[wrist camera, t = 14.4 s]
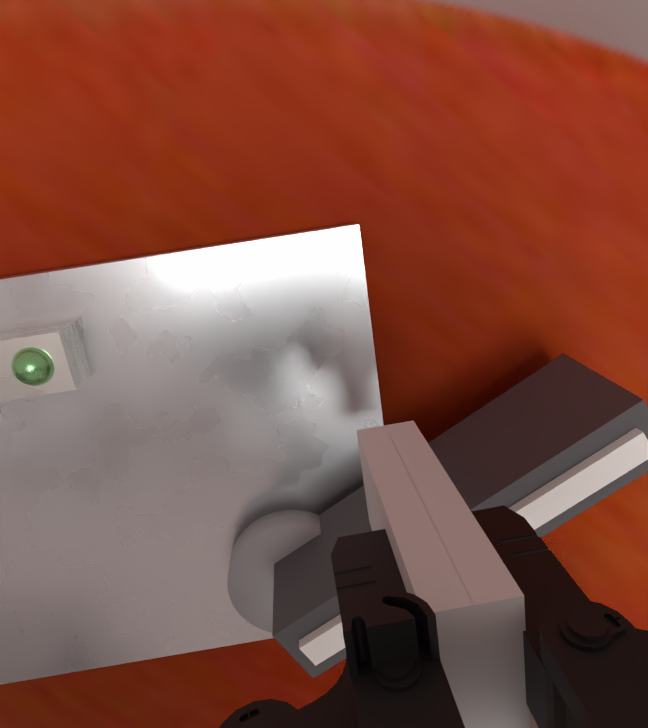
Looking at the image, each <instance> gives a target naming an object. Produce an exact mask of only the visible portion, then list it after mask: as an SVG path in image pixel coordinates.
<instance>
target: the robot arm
mask: <svg viewBox="0 0 648 728" xmlns="http://www.w3.org/2000/svg"><path fill="white" fill-rule="evenodd" d="M356 431H357V439H358V446H359V453H360V460H361V467H362V474H363V481H364V488H365V495H366V502H367V509H368V516H369V522H370V525H371V529H372V531H370V532H365V533H359V534H354V535H348V536H343V537H338V539H337V541H336V543H335V546H334V548H333V550H332V553H331V560H332V566H333V572H334V578H335V585H336V591H337V597H338V603H339V609H340V615H341V621H342V627H343V637H344V643H345V649H346V664H345V667H344V671H343V673H342V675H341V676H340V678H339V680H338V681H337V683H336V684H335V685H334V686H333V687H332V688H331V689H330V690H329V691H328V692H327V693H326V694H324V695H323V696H321V697H320V698H319V699H317V700H316V701H314V702H312V703H310V704H308V705H306V706H304V707H302V708H301V709H299V710H297V709H296V708H294V707H293V706H292V705H290V704H289V703H288V702H283V701H278V700H274V699H267V700H261V701H255V702H252V703H250V704H248V705H246V706H244V707H242V708H240V709H238V710H236V711H235V712H234V713H233V714H232V715H231V716H229V717H228V718H227V719H226V720H225V721H224V722H223V723H222V724H221V726H220V727H219V728H530V712H531V714H532V716H533V718H534V720H535V722H536V724H537V726H538V728H648V631H646V630H640V629H637V628H635V627H634V626H633V625H632V624H631V623H630V622H629V621H628V620H627V619H625V618H624V617H623V616H622V615H621V614H620V613H619V612H617V611H615V610H613V609H611V608H609V607H607V606H605V605H603V604H601V603H596V602H592V601H590V600H589V599H588V598H587V596H586V595H585V594H584V593H583V591H582V590H581V589H580V588H579V586H578V585H577V584H576V582H575V581H574V580H573V579H572V577H571V576H570V575H569V574H568V572H567V571H566V570H565V568H564V567H563V566H562V565H561V563H560V562H559V561H558V560H557V558H556V557H555V556H554V555H553V553H552V552H551V551H550V550H548V547H547V546H546V544H545V543H544V542H543V541H542V539H541V538H540V537H538V536H537V533H536V532H535V530H534V529H533V528H532V527H531V525H530V524H529V523H528V522H527V520H526V519H525V518H524V517H523V516H521V515H519V514H518V513H516V512H514V511H512V510H511V509H509V508H507V507H506V506H504V505H503V506H498V507H492V508H487V509H481V510H476V511H470V509H469V508H468V506H467V504H466V503H465V501H464V500H463V498H462V496H461V495H460V493H459V492H458V490H457V489H456V487H455V485H454V484H453V482H452V481H451V479H450V478H449V476H448V474H447V473H446V471H445V470H444V468H443V466H442V465H441V463H440V462H439V460H438V459H437V457H436V455H435V454H434V452H433V451H432V449H431V448H430V446H429V444H428V443H427V441H426V440H425V438H424V436H423V435H422V433H421V432H420V430H419V429H418V427H417V425H416V424H415V422H414V421H407V422H401V423H395V424H390V425H384V426H378V427H373V428H367V429H361V430H356ZM529 710H530V711H529Z"/></svg>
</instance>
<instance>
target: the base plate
mask: <svg viewBox="0 0 648 728" xmlns="http://www.w3.org/2000/svg"><path fill="white" fill-rule="evenodd" d="M378 426H384V424H383V416H382V408H381V400H380V391H379V383H378V375H377V367H376V358H375V350H374V342H373V334H372V325H371V317H370V309H369V301H368V292H367V284H366V276H365V268H364V259H363V251H362V243H361V235H360V227H359V224H357V223H350V224H343V225H337V226H330V227H324V228H317V229H311V230H304V231H298V232H291V233H285V234H278V235H272V236H265V237H259V238H252V239H246V240H239V241H233V242H226V243H220V244H213V245H207V246H200V247H194V248H187V249H181V250H174V251H168V252H161V253H155V254H148V255H142V256H135V257H129V258H122V259H115V260H109V261H102V262H96V263H89V264H83V265H76V266H70V267H63V268H57V269H50V270H44V271H37V272H31V273H24V274H18V275H11V276H5V277H0V685H1V684H7V683H13V682H19V681H25V680H31V679H37V678H42V677H48V676H54V675H60V674H66V673H72V672H78V671H83V670H89V669H95V668H101V667H107V666H113V665H119V664H124V663H130V662H136V661H142V660H148V659H154V658H160V657H165V656H171V655H177V654H183V653H189V652H195V651H201V650H206V649H212V648H218V647H224V646H230V645H236V644H242V643H247V642H253V641H259V640H265V639H271V638H274V637H273V636H272V633H271V632H267V631H264V630H262V629H259V628H257V627H255V626H253V625H252V624H250V623H249V622H247V621H246V620H245V619H244V618H243V617H242V616H241V615H240V614H239V613H238V612H237V611H236V609H235V608H234V606H233V604H232V602H231V600H230V597H229V593H228V586H227V581H228V572H229V565H230V558H231V553H232V549H233V547H234V544H235V542H236V540H237V538H238V537H239V536H240V534H241V533H242V532H243V531H244V530H245V529H246V528H247V527H248V526H249V525H250V524H251V523H253V522H254V521H256V520H257V519H259V518H261V517H263V516H265V515H268V514H271V513H274V512H278V511H284V510H302V511H308V512H311V513H315V514H318V515H320V514H321V513H323V512H324V511H326V510H327V509H329V508H330V507H332V506H333V505H335V504H336V503H338V502H339V501H341V500H342V499H344V498H345V497H347V496H348V495H350V494H351V493H353V492H354V491H356V490H357V489H359V488H361V487H362V486H364V481H363V474H362V467H361V460H360V453H359V446H358V439H357V431H356V430H361V429H367V428H373V427H378Z"/></svg>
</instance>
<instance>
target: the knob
mask: <svg viewBox="0 0 648 728" xmlns="http://www.w3.org/2000/svg"><path fill="white" fill-rule="evenodd" d="M428 444H429V446H430V448H431V449H432V451H433V452H434V454H435V455H436V457H437V459H438V460H439V462H440V463H441V465H442V466H443V468H444V470H445V471H446V473H447V474H448V476H449V478H450V479H451V481H452V482H453V484H454V485H455V487H456V489H457V490H458V492H459V493H460V495H461V496H462V498H463V500H464V501H465V503H466V504H467V506H468V508H469V509H470V511H476V510H481V509H487V508H492V507H498V506H503V505H504V506H506V507H507V508H509V509H511V510H512V511H514V512H516V513H518V514H519V515H521V516H523V517H524V518H525V519H526V520H527V522H528V523H529V524H530V525H531V527H532V528H533V529H534V530H535V532H536V533H537V536H538V537H540V538H541V537H543V536H544V535H546V534H548V533H549V532H551V531H552V530H554V529H556V528H557V527H559V526H561V525H562V524H564V523H565V522H567V521H569V520H570V519H572V518H573V517H575V516H577V515H578V514H580V513H582V512H583V511H585V510H586V509H588V508H590V507H591V506H593V505H594V504H596V503H598V502H599V501H601V500H603V499H604V498H606V497H607V496H609V495H611V494H612V493H614V492H615V491H617V490H619V489H620V488H622V487H624V486H625V485H627V484H628V483H630V482H632V481H633V480H635V479H637V478H638V477H640V476H641V475H643V474H645V473H646V472H648V407H647V405H646V404H645V402H644V400H643V399H641V398H639V397H638V396H636V395H634V394H633V393H631V392H629V391H627V390H626V389H624V388H622V387H620V386H619V385H617V384H615V383H613V382H612V381H610V380H608V379H607V378H605V377H603V376H601V375H600V374H598V373H596V372H594V371H593V370H591V369H589V368H588V367H586V366H584V365H582V364H581V363H579V362H577V361H575V360H574V359H572V358H570V357H569V356H567V355H565V354H562V355H560V356H559V357H557V358H556V359H554V360H553V361H551V362H550V363H548V364H547V365H545V366H544V367H542V368H541V369H539V370H538V371H536V372H535V373H533V374H532V375H530V376H528V377H527V378H525V379H524V380H522V381H521V382H519V383H518V384H516V385H515V386H513V387H512V388H510V389H509V390H507V391H506V392H504V393H503V394H501V395H500V396H498V397H497V398H495V399H494V400H492V401H491V402H489V403H488V404H486V405H485V406H483V407H482V408H480V409H479V410H477V411H476V412H474V413H472V414H471V415H469V416H468V417H466V418H465V419H463V420H462V421H460V422H459V423H457V424H456V425H454V426H453V427H451V428H450V429H448V430H447V431H445V432H444V433H442V434H441V435H439V436H438V437H436V438H435V439H433V440H432V441H430V442H429V443H428ZM370 531H372V529H371V525H370V522H369V516H368V509H367V502H366V495H365V488H364V486H362V487H361V488H359V489H357V490H356V491H354V492H353V493H351V494H350V495H348V496H347V497H345V498H344V499H342V500H341V501H339V502H338V503H336V504H335V505H333V506H332V507H330V508H329V509H327V510H326V511H324V512H323V513H321V514H320V515H318V514H315V513H311V512H308V511H302V510H284V511H278V512H274V513H271V514H268V515H265V516H263V517H261V518H259V519H257V520H256V521H254V522H253V523H251V524H250V525H249V526H248V527H247V528H246V529H245V530H244V531H243V532H242V533H241V534H240V536H239V537H238V538H237V540H236V542H235V544H234V547H233V549H232V553H231V558H230V565H229V572H228V581H227V586H228V593H229V597H230V600H231V602H232V604H233V606H234V608H235V609H236V611H237V612H238V613H239V614H240V615H241V616H242V617H243V618H244V619H245V620H246V621H247V622H249V623H250V624H252V625H253V626H255V627H257V628H259V629H262V630H264V631H267V632H271V633H272V636H273V637H274V638H275V639H276V640H277V641H278V642H279V644H280V645H281V646H282V647H283V648H284V649H285V650H286V651H287V652H288V653H289V654H290V655H291V656H292V657H293V658H294V659H295V660H296V661H297V662H298V663H299V664H300V665H301V666H302V667H303V668H304V669H305V671H306V672H307V673H308V674H309V675H310V676H311V677H312V678H315V677H316V676H318V675H320V674H321V673H323V672H324V671H326V670H328V669H329V668H331V667H333V666H334V665H336V664H337V663H339V662H341V661H342V660H344V659H345V658H346V649H345V643H344V637H343V627H342V621H341V615H340V609H339V603H338V597H337V591H336V585H335V578H334V572H333V566H332V560H331V553H332V550H333V548H334V546H335V543H336V541H337V539H338V537H343V536H348V535H354V534H359V533H365V532H370Z"/></svg>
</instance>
